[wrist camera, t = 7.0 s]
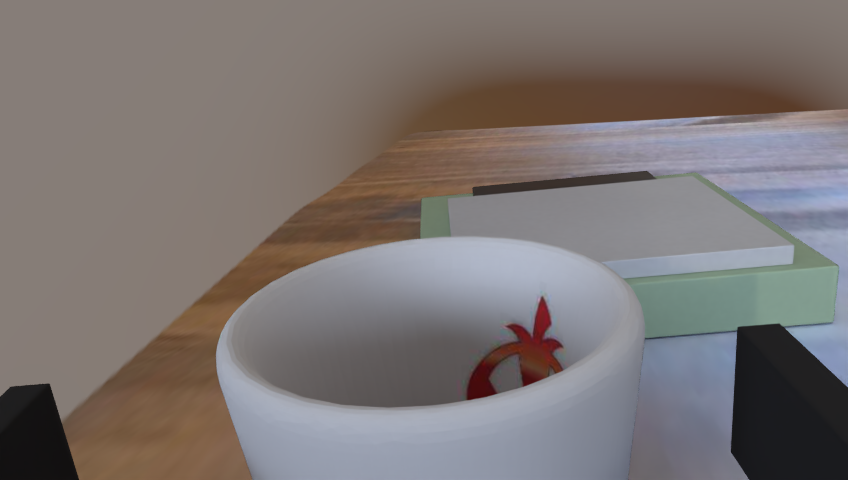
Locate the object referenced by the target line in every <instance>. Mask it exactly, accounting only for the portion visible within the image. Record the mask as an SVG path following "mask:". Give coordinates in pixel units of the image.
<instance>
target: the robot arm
mask: <svg viewBox="0 0 848 480" xmlns="http://www.w3.org/2000/svg"><path fill="white" fill-rule="evenodd" d="M731 453H732V454H733V456H734V457H735V459H736V460H737V462H738V463H739V465H740V466H741V468H742V469H743V471H744V472H745V474H746V475H747V477H748V479H749V480H848V387H847V386H846V385H845V384H843V383H842V382H841V381H840V380H839V379H838V378H837V377H836V376H835V375H834V374H833V373H832V372H831V371H830V370H829V369H827V368H826V367H825V366H824V365H823V364H822V363H821V362H820V361H819V360H818V359H817V358H816V357H815V356H814V355H813V354H812V353H810V352H809V351H808V350H807V349H806V348H805V347H804V346H803V345H802V344H801V343H800V342H799V341H798V340H797V339H796V338H794V337H793V336H792V335H791V334H790V333H789V332H788V331H787V330H786V329H785V328H784V327H783V326H782V325H781V324H780V323H777V324H765V325H753V326H740V327H737V346H736V365H735V384H734V403H733V422H732V440H731ZM0 480H79V478H78V475H77V472H76V468H75V465H74V462H73V459H72V455H71V452H70V449H69V446H68V442H67V439H66V436H65V433H64V429H63V426H62V423H61V419H60V416H59V413H58V410H57V406H56V403H55V400H54V397H53V393H52V390H51V387H50V384H38V385H26V386H14V387H10V388H9V389H8V390H7V391H6V392H5V393H4V394H3V395H2V396H1V397H0Z"/></svg>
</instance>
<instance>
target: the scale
mask: <svg viewBox="0 0 848 480" xmlns="http://www.w3.org/2000/svg"><path fill="white" fill-rule="evenodd" d="M472 189H473V193H470V194H459V195H448V196H437V197H427V198H422V199H421V234H420V239H423V238H434V237H453V236H486V237H505V238H514V239H522V240H531V241H536V242H541V243H546V244H551V245H556V246H560V247H563V248H566V249H569V250H572V251H575V252H578V253H581V254H584V255H586V256H588V257H590V258H592V259H595V260H597V261H599V262H601V263H603V264H605V265H606V266H608V267H609V268H611V269H612V270H614V271H615V272H616V273H617V274H618V275H619V276H620V277H621V278H623V279H624V280H625V281H626V282H627V283H628V284H629V285H630V287H631V288H632V289H633V291H634V292H635V294H636V296H637V298H638V300H639V302H640V304H641V307H642V311H643V315H644V322H645V338H654V337H666V336H678V335H690V334H702V333H713V332H725V331H737V327H740V326H753V325H765V324H777V323H780V324H781V325H782V326H783V327H784V326H796V325H808V324H820V323H832V322H833V321H834V312H835V302H836V293H837V283H838V273H839V266H838V265H837V264H835V263H834V262H832V261H831V260H829V259H828V258H826V257H824V256H823V255H821V254H820V253H818V252H817V251H815V250H814V249H812V248H811V247H809V246H808V245H806V244H805V243H803V242H802V241H800V240H799V239H797V238H795V237H794V236H792V235H791V234H789V233H788V232H786V231H785V230H783V229H782V228H780V227H779V226H777V225H776V224H774V223H773V222H771V221H770V220H768V219H766V218H765V217H763V216H762V215H760V214H759V213H757V212H756V211H754V210H753V209H751V208H750V207H748V206H747V205H745V204H744V203H742V202H741V201H739V200H737V199H736V198H734V197H733V196H731V195H730V194H728V193H727V192H725V191H724V190H722V189H721V188H719V187H718V186H716V185H715V184H713V183H712V182H710V181H709V180H707V179H705V178H704V177H702V176H701V175H699V174H698V173H686V174H675V175H665V176H652V175H651V174H650V173H649V172H647V171H641V172H630V173H619V174H609V175H598V176H587V177H576V178H566V179H555V180H544V181H533V182H522V183H512V184H501V185H490V186H479V187H473V188H472Z"/></svg>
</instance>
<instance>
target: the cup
mask: <svg viewBox="0 0 848 480" xmlns="http://www.w3.org/2000/svg"><path fill="white" fill-rule="evenodd" d="M644 341H645V322H644V315H643V311H642V307H641V304H640V302H639V300H638V298H637V296H636V294H635V292H634V291H633V289H632V288H631V287H630V285H629V284H628V283H627V282H626V281H625V280H624V279H623V278H621V277H620V276H619V275H618V274H617V273H616V272H615V271H614V270H612V269H611V268H609V267H608V266H606V265H605V264H603V263H601V262H599V261H597V260H595V259H592V258H590V257H588V256H586V255H584V254H581V253H578V252H575V251H572V250H569V249H566V248H563V247H560V246H556V245H551V244H546V243H541V242H536V241H531V240H522V239H514V238H505V237H486V236H453V237H434V238H423V239H412V240H405V241H399V242H392V243H386V244H380V245H375V246H371V247H366V248H362V249H357V250H353V251H349V252H346V253H342V254H339V255H336V256H332V257H329V258H326V259H322V260H320V261H317V262H315V263H312V264H310V265H307V266H304V267H302V268H299V269H297V270H295V271H293V272H291V273H289V274H287V275H285V276H283V277H281V278H279V279H277V280H275V281H273V282H271V283H270V284H268V285H267V286H265V287H264V288H262V289H261V290H259V291H258V292H256V293H255V294H254V295H252V296H251V297H250V298H249V299H248V300H247V301H245V302H244V303H243V304H242V305H241V306H240V307H239V308H238V309H237V310H236V311H235V312H234V314H233V315H232V316H231V318H230V319H229V320H228V322H227V323H226V325H225V327H224V329H223V331H222V333H221V335H220V339H219V342H218V345H217V351H216V365H217V374H218V378H219V383H220V386H221V389H222V392H223V395H224V398H225V401H226V404H227V407H228V410H229V413H230V416H231V418H232V421H233V424H234V427H235V430H236V433H237V436H238V439H239V442H240V445H241V447H242V450H243V453H244V456H245V459H246V462H247V465H248V468H249V471H250V474H251V477H252V479H253V480H628V474H629V465H630V457H631V449H632V441H633V432H634V424H635V416H636V408H637V399H638V391H639V383H640V375H641V367H642V358H643V350H644Z"/></svg>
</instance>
